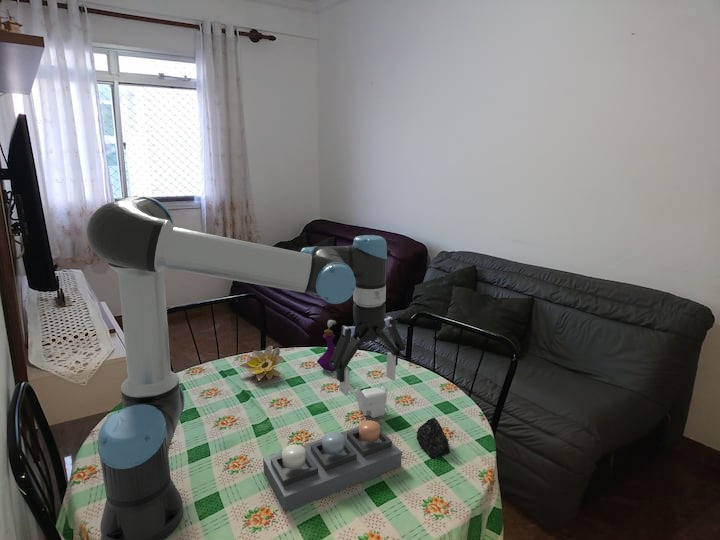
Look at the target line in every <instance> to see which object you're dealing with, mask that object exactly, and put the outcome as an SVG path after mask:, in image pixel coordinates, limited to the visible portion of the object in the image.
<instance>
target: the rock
mask: <svg viewBox="0 0 720 540" xmlns="http://www.w3.org/2000/svg"><path fill="white" fill-rule="evenodd" d="M416 440H417V442H418V445H419V446H420V447H421V448H422V449H423V450H424V452H426V455H428V457H429V458H430V459H433V460H434V459H436V458H437V457H441V456H445V455H448V454H450V453H451V449H450V446H449V439H448V438H447V437H446V434H445V433H444V430H443V428H442V426H441V424H440V423H439V420H438V419H436V417H432V418H430V419H427V420H426V421H425V422H424V423H423V424H422V425H421V426H419V428H417V431H416Z"/></svg>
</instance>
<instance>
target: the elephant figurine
mask: <svg viewBox="0 0 720 540" xmlns="http://www.w3.org/2000/svg"><path fill="white" fill-rule="evenodd" d="M387 391H388V386H387V382H385V381H382V384H381V387H371V388H366V389H365V388H363V390H361V389H360V387H358V386H356V387H355V389H354V390H353V393H354V395H355V400H356V402H357V403H358V404H357V405H358V409H359V411H360V412H361V413H362V414H363V416H364V417H368V416H371V418H377V417H382V416H385V414H386V412H387V415H388V416H389V415H390V414H389V407H388V405H387V404H386V403H387V399H388V398H387V397H388V392H387Z"/></svg>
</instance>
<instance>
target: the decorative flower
mask: <svg viewBox="0 0 720 540" xmlns="http://www.w3.org/2000/svg"><path fill="white" fill-rule="evenodd" d="M280 354H281V349H280V347H275V348H274V349H273V345H268V346H267V347H266V348H265V350H264V351H260V350H253V351H252V352H251V357H248V359H247V361H246V362H244V363H242V364H239V365H238V367H240V368H242V369H246V370H247V372H248V373H249V374H253V375H255V376H256V379H257V380H258V381H260V380H262V379H263V377H265V376H266V379H268V380H271V379H273V376H275V377H276V376H277V377H279V376H281V375H282V372H280V371H279V370H278V369H276V366H277V365H278V366H279V365H280V364H281V363H282V362H284V361H285V359H284V357H283V356H282V355H280Z"/></svg>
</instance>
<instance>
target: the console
mask: <svg viewBox="0 0 720 540" xmlns="http://www.w3.org/2000/svg"><path fill="white" fill-rule="evenodd" d="M340 433H341V434H342V435H343V436H344V450H343V452H342V453H340V454H337V455H329V454H326V453H325V452H324V451H323V449H322V438H320V439H318V440H314V441H311V442H308V443H305V444H302V445H301V446H302V447H304V448H305V455H306V462H305V464H304V465H303V466H302V467H300V468H298V469H288V468H286V467H284V466H283V463H282V451H280V452H278V453H275V454H272V455H269V456H266V457H264V458H262V461H263V462H262V464H263V474H264V476H265V478H266V479H267V482H268V483H269V485H270V487H271V489H272V491H273V493H274V494H275V496H276V499H277V500H278V502H279V504H280V506H281V508H282V509H283V512H284V514H285V513H288V512H291V511H293V510H297V509H299V508H300V507H304V506H306V505H309V504H311V503H314V502H316V501H317V500H320V499H324V498H325V497H327V496H328V497H329V496H330V495H333V494H336V493H337V492H340V491H344V490H345V489H348V488H351V487H353V486H355V485H357V484H361V483H363V482H365V481H368V480H370V479H372V478H375V477H377V476H380V475H383V474H385V473H388V472H390V471H392V470H395V469H397V468H400V467H402V455H403V454H402V451H401V450H400V449H399V448H398V447H397V446H396V445H395V444H394V443H393V440H392V439H390V438H389V437H388V435H386V434H385V433H384V432H383V431H382V430H381V429H380V437H379V439H378V440H376V441H374V442H366V441H363V440H361V439H360V437H359V426H357V427H354V428H351V429H350V428H349V429H347V430H344V431H341V432H340Z"/></svg>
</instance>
